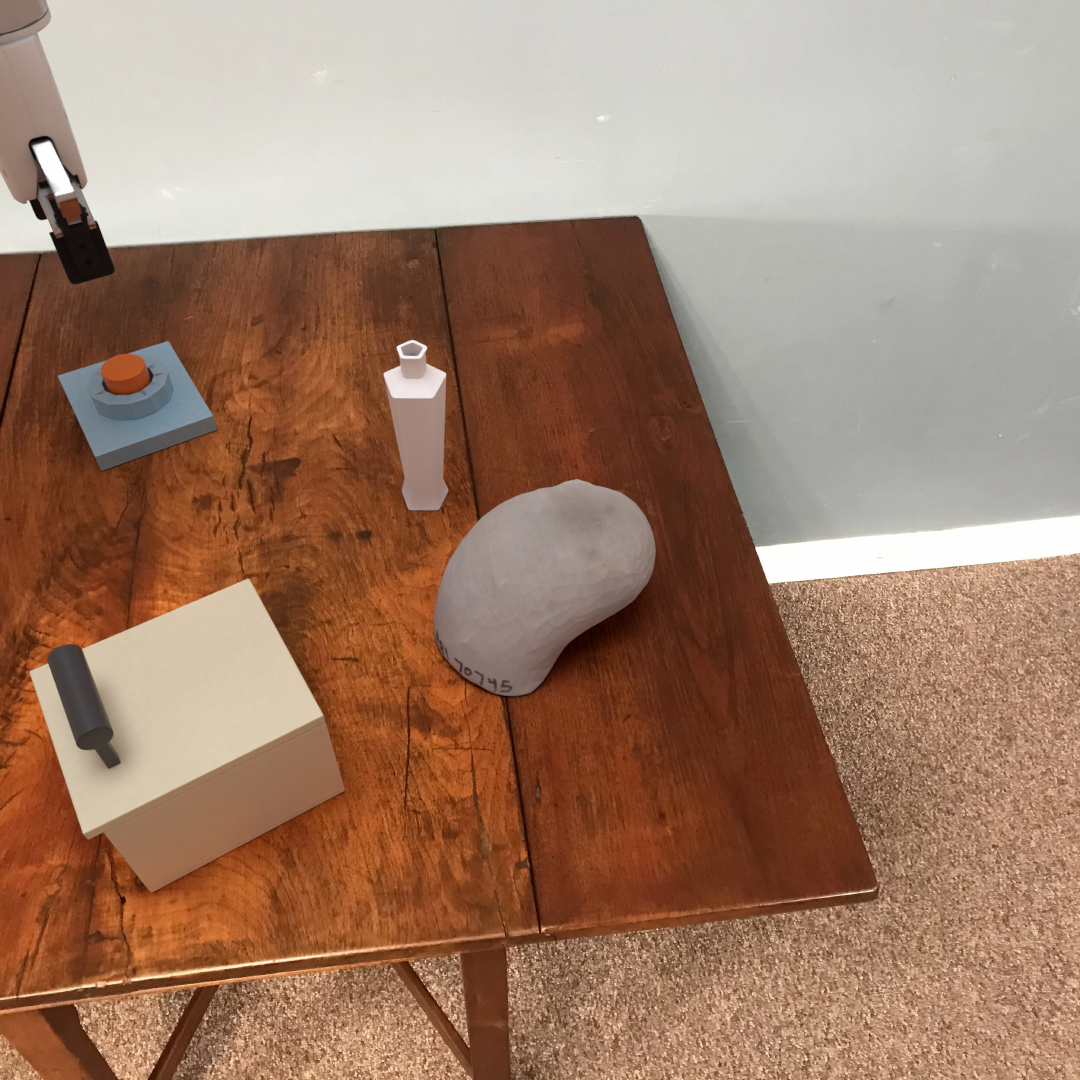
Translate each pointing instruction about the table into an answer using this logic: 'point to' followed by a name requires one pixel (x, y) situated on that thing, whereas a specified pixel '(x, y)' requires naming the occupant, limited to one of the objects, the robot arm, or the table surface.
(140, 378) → the button
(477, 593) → the grey rounded lump
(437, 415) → the perfume bottle
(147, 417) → the box
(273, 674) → the lid
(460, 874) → the table surface
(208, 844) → the chest
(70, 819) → the table surface
